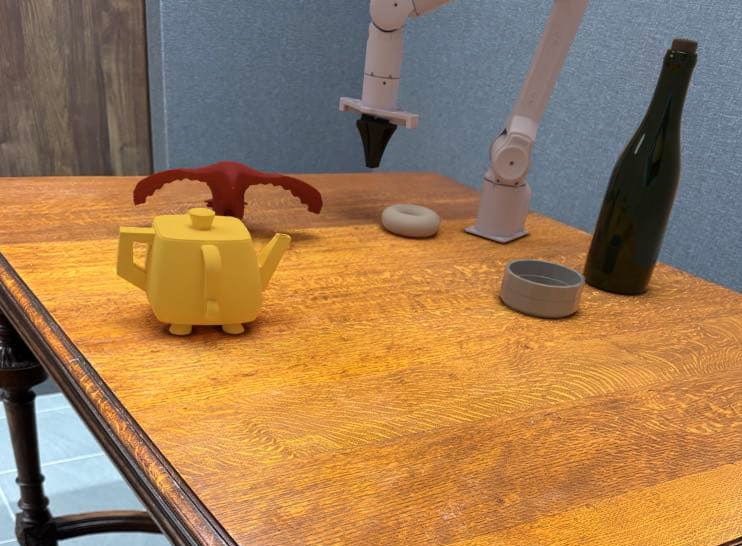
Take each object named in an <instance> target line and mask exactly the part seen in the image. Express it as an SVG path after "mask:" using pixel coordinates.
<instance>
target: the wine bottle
mask: <svg viewBox="0 0 742 546" xmlns="http://www.w3.org/2000/svg"><path fill="white" fill-rule="evenodd" d="M698 47H699V42H698V41H696V40H692V39H689V38H688V39H687V38H676V37H675V38H673V40H672V42H671V46H670V48H667V49H666V51H665V53H664V55H663V59H662V65H661V69H660V72H659V75H658V78H657V82H656V85H655V87H654V90H653V93H652V97H651V99H650V101H649V104H648V106H647V109H646V112H645V113H644V115H643V117H642V118H641V121H640V123H639V124H638V125H637V127H636V129H635V131H634V132H633V133H632V135H631V136H630V138H629V140H628V141H627V143H626V144H625V145H624V147H623V149H622V150H621V152H620V153H619V155H618V157H617V159H616V161H615V163H614V165H613V166H612V167H613V168H612V170H611V173H610V176H609V178H608V181H607V185H606V187H605V191H604V195H603V198H602V201H601V204H600V208H599V211H598V214H597V218H596V222H595V225H594V228H593V232H592V235H591V239H590V243H589V245H588V248H587V252H586V257H585V260H584V262H583V263H584V264H583V267H582V273H581V274H582V275H583V276H584V277H585V282H587V283H589V284H590V285H592V286H593V287H596V288H598V289H601V290H604V291H608V292H612V293H617V294H628V295H629V294H631V295H632V294H633V295H634V294H639V293H642V292H645V291H646V290H647V289H648V287H649V286H650V283H651V280H652V277H653V275H654V271H655V268H656V265H657V261H658V259H659V256H660V253H661V249H662V245H663V243H664V239H665V236H666V233H667V230H668V226H669V223H670V219H671V216H672V213H673V209H674V206H675V202H676V199H677V195H678V191H679V188H680V187H679V186H680V183H681V176H682V167H683V166H682V119H683V113H684V108H685V103H686V99H687V95H688V91H689V88H690V84H691V81H692V77H693V73H694V71H695V68H696V67H697V64H698V59H699V53H698V52H697V50H698Z"/></svg>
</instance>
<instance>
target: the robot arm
mask: <svg viewBox="0 0 742 546" xmlns="http://www.w3.org/2000/svg"><path fill="white" fill-rule="evenodd" d="M453 1H454V0H370V2H369V16H370V18H371V21H370V24H369V26H368V35H369V36H368V38H367V41H366V50H365V58H364V59H365V61H364V69H363V70H364V71H363V72H364V73H363V81H362V91H361V92H362V93H361V99H358V98H354V97H353V98H352V97H348V96H345V97H339V105H338V111H339V112H343V113H344V112H346V113H351V114H355V115H359V116H360V118H359V119H356V122H355V125H356V128H357V130H358V133H359V136H360V139H361V144H362V147H363V153H364V162H365V163H364V164H365V167H366V168H368V169H373V170H374V169H376V168H380V165H381V162H382V158H383V156H384V153H385V150H386V148H387V147H388V144H389V142H390V140H391V138H392V136H393V135H394V133H395V132H396V130H398V126H401V127H404V128H405V129H408V130H414V129H415V130H417V129H418V125H419V119H420V115H419V114H416V113H413V112H409V111H407V110H405V109H401V108H399V107H397V105H398V98H399V97H398V96H399V89H400V80H401V72H402V64H403V63H402V62H403V54H404V42H403V38H404V29H405V25H404V24H405V23H406V22H407V19H408V18H413V19H418V18H420V17H422V16H425V15H426V14H428V13H430V12H432V11H434V10H437V9H439V8H441V7H443V6H445V5H448V4H449V3H451V2H453ZM589 2H590V0H553V6H552V9H551V10H550V14H549V16H548V18H547V22H546V23H545V26H544V28H543V31H542V33H541V37H540V38H539V41H538V44H537V46H536V49H535V52H534V54H533V57H532V59H531V61H530V64H529V67H528V70H527V72H526V75H525V77H524V79H523V82H522V85H521V87H520V90H519V93H518V95H517V98H516V100H515V103H514V105H513V107H512V110H511V112H510V114H509V115H508V116H507V117H508V118H507V119H506V121H505V123H504V126H503V128H502V129H501V131H500V133H499V134H498V135H497V136H495V138H494V139H493V140H492V142H490V143H491V144H490V146H489V150H488V156H489V161H490V163H491V166H490V168H489V169H488V170H487V171H486V172H484V175H483V181H482V186H481V192H480V197H479V201H478V208H477V213H476V217H475V218H476V219H475V224H473V225H470V226H468V227H465V228H464V232H466V233H470V234H473V235H476V236H479V237H482V238H485V239H487V240H488V239H489V240H492V241H495V242H498V243H502V244H505V243H508V242H511V241H513V240H516V239H518V238H521V237H523V236H527V235H529V231H528V230H526V229H525V226H526V223H527V218H528V213H529V209H530V204H531V200H532V190H531V187H530V184H529V183H528V182H527V181H528V178H527V177H526V176H527V175H528V173H529V172H530V169H531V166H532V150H533V147H534V145H535V142H536V137H537V133H538V129H539V124H540V122H541V120H542V118H543V115H544V112H545V110H546V108H547V105H548V103H549V101H550V98H551V95H552V93H553V90H554V88H555V86H556V84H557V81H558V79H559V76H560V74H561V71H562V69H563V67H564V64H565V61H566V59H567V57H568V54H569V52H570V50H571V48H572V45H573V43H574V40H575V38H576V36H577V33H578V30H579V28H580V25H581V23H582V21H583V18H584V16H585V13H586V11H587V8H588V6H589Z"/></svg>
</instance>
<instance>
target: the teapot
mask: <svg viewBox="0 0 742 546" xmlns="http://www.w3.org/2000/svg"><path fill="white" fill-rule="evenodd" d="M118 230H119V231H118V239H117V240H118V242H117V251H116V252H117V253H116V265H115V271H116V276H118V277H120V278H121V279H123V280H125V281H126V282H128V283H129V284H131V285H133V286H134V287H136V288H138V289H140V290H142V291H143V292H145V296H146V298H147V301H148V304H149V305H150V308H151V310H152V312H153V314H154V316H155V318H156V320H158V321H160V322H162V323H166V324H170V327H169V329H168V331H169V332H170V333H171V334H173V335H178V336H181V335H182V336H184V335H189V334H191V333H192V330H193V326H221V328H222V331H223V332H225V333H227V334H230V335H231V334H232V335H233V334H234V335H237V334H242V333H244V332H245V328H244V326H243V325H242V324H243V323H245V324H246V323H249V322H250V323H251V322H254V321H255V320H256V319H257V317H258V316H259V313H260V311H261V309H262V306H263V293H264V292H265V291H266V289H267V287H268V285H269V284H270V282H271V279H272V277H273V276H274V274H275V272H276V270H277V269H278V266H279V264H280V263H281V260H282V259H283V257H284V255H285V253H286V251H287V249H288V247H289V245H290V243H291V241H292V237H291V236H290V235H289V234H285V233H281V232H275V235H274V236H273V237H272V239H271V240H270V241H269V242H268V243H267V244H266V245H265V247H264V248H263V249H262V250H261V251H260V252H259V254H258V255H257V254H256V250H255V249H256V248H255V246H254V241H253V239H252V235H251V234H250V232H249V230H248V229H247V227H246V225H245V224H244V222H243V221H242V220H239V219H238V218H235V217H231V216H227V217H226V216H215V212H214V211H212V209H210V208H208V207H207V208H206V207H193V208H190V209H188V211H187V212H185V213H183V214H161V215H156V216H155V217H154V218H153V220H152V223H151V226H150V227H139V226H137V227H135V226H134V227H133V226H119V229H118ZM134 243H140V244H146V247H145V255H144V265H143V266H141V265H140V264H137V263H136V262H134Z"/></svg>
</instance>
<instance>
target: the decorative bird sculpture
mask: <svg viewBox="0 0 742 546" xmlns="http://www.w3.org/2000/svg"><path fill="white" fill-rule="evenodd" d="M184 180H189V181H191V182H192V181H198V182H199V183H206V186H207V187H208V188H209V190H210V193H211V197H212V198H209V199H206V200H203V203H205V207H207V208H211V210H212V211H214V212H215V216H226V217H234V218H238V219H239V220H240V221H242V220H244V219H243V218H244V216H245V209H246V206H247V205H249V203H248V202H246V201H245V194H246V191H247V190H248V189H249V188H250V187H251V186H258V185H264V186H266V185H272V186H273V187H278V186H279V187H281V188H282V189H283V190H284V191H290V193H291V195H292V196H293V197H294V198H298V199H299V200H300V201H299V202H300V204H302V205H307V211H308V212H309V213H313V214H315V215H320V213H321V212H322V208H323V204H324V202H323V199H322V198H323V197H322V194H321V192H320V191H319V190H318V189H317V188H315V187H314V186H312V184H310V183H308V182H306V181H304V180H302V179H299V178H297V177H294V176H290V175H284V174H281V173H277V172H276V173H275V172H274V173H270V172H263V171H262V170H258V169H255V168H253V167H250V166H249V165H246V164H243V163H241V162H238V161H234V160H233V161H232V160H222V161H218V162H216V163H211V164H210V165H205V166H200V167H194V168H193V167H191V168H187V167H186V168H185V167H179V168H172V169H166V170H162V171H161V170H160V171H157V172H155V173H152V174H151V175H148V176H145V177H144V178H142V179H141V180H139V181H138V182H137V183H136V185H135V186H134V189H133V191H132V198H133V199H132V200H133V204H134V206H139V205H144V204H146V202H147V197H153V196H154V194H155V192H156V191H157V190H158V191H160V190H161V189H162V188H163V187H164V186H165V185H166V184H171V183H173V182H176V181H179V182H182V181H184Z"/></svg>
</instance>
